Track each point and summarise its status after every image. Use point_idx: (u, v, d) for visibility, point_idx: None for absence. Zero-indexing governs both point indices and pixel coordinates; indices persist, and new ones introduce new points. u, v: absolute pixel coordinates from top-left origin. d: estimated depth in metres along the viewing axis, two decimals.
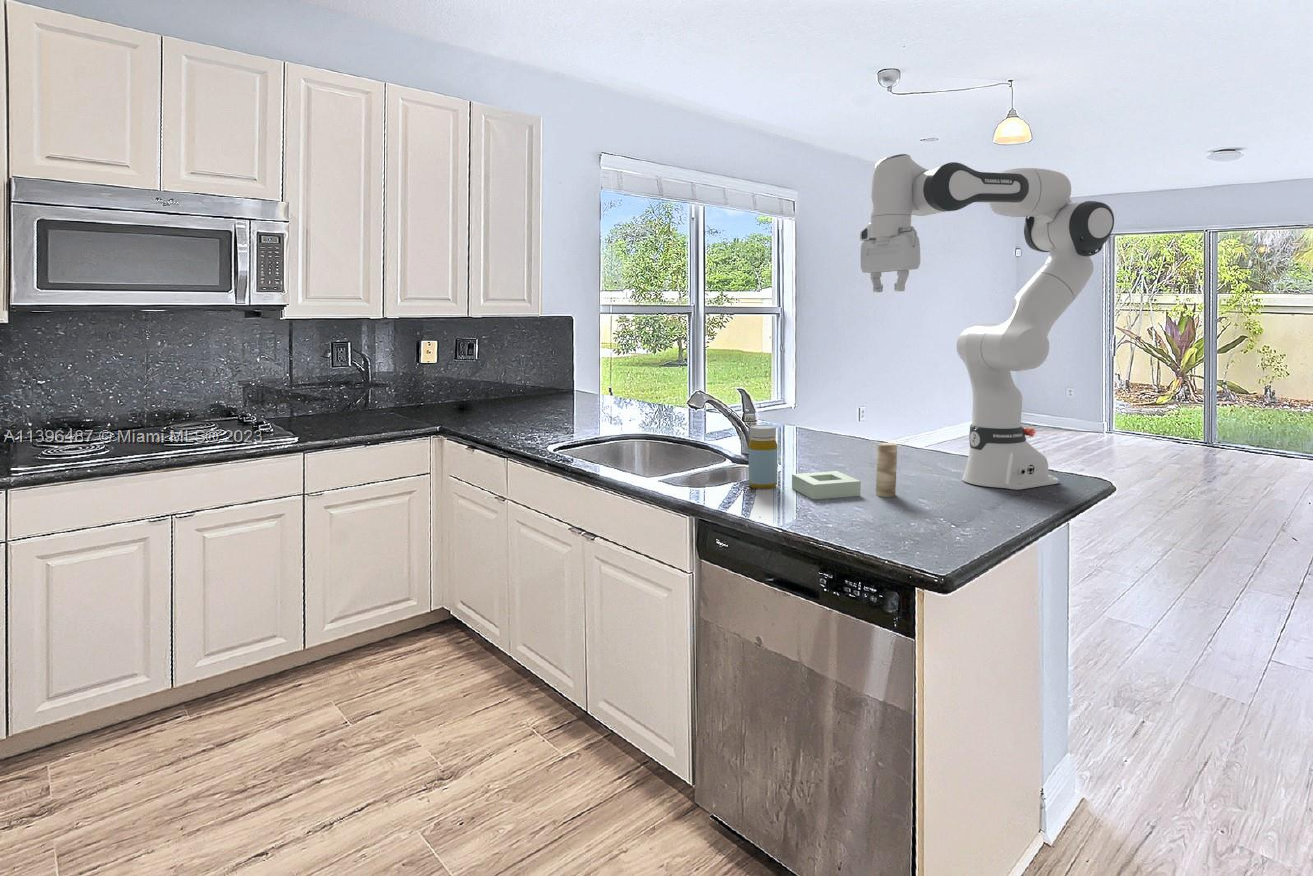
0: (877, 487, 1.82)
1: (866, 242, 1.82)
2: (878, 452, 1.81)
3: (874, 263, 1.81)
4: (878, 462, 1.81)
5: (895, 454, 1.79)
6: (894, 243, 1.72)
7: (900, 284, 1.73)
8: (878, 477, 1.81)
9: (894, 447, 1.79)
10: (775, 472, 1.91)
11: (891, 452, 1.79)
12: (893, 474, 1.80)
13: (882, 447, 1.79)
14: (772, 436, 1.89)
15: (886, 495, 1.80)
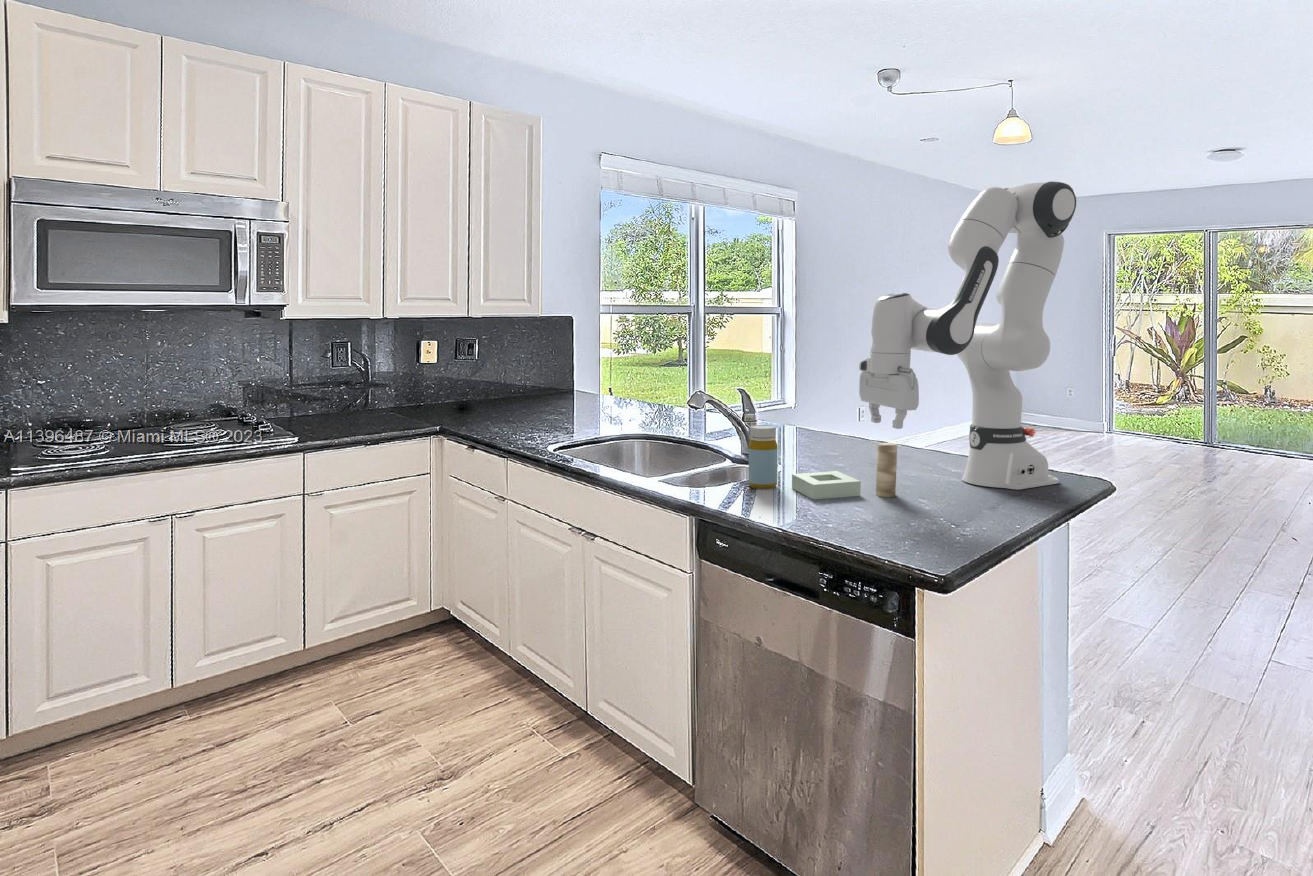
0: (877, 487, 1.82)
1: (865, 373, 1.83)
2: (878, 452, 1.81)
3: (873, 396, 1.82)
4: (878, 462, 1.81)
5: (895, 454, 1.79)
6: (893, 382, 1.73)
7: (898, 422, 1.74)
8: (878, 477, 1.81)
9: (894, 447, 1.79)
10: (775, 472, 1.91)
11: (891, 452, 1.79)
12: (893, 474, 1.80)
13: (882, 447, 1.79)
14: (772, 436, 1.89)
15: (886, 495, 1.80)
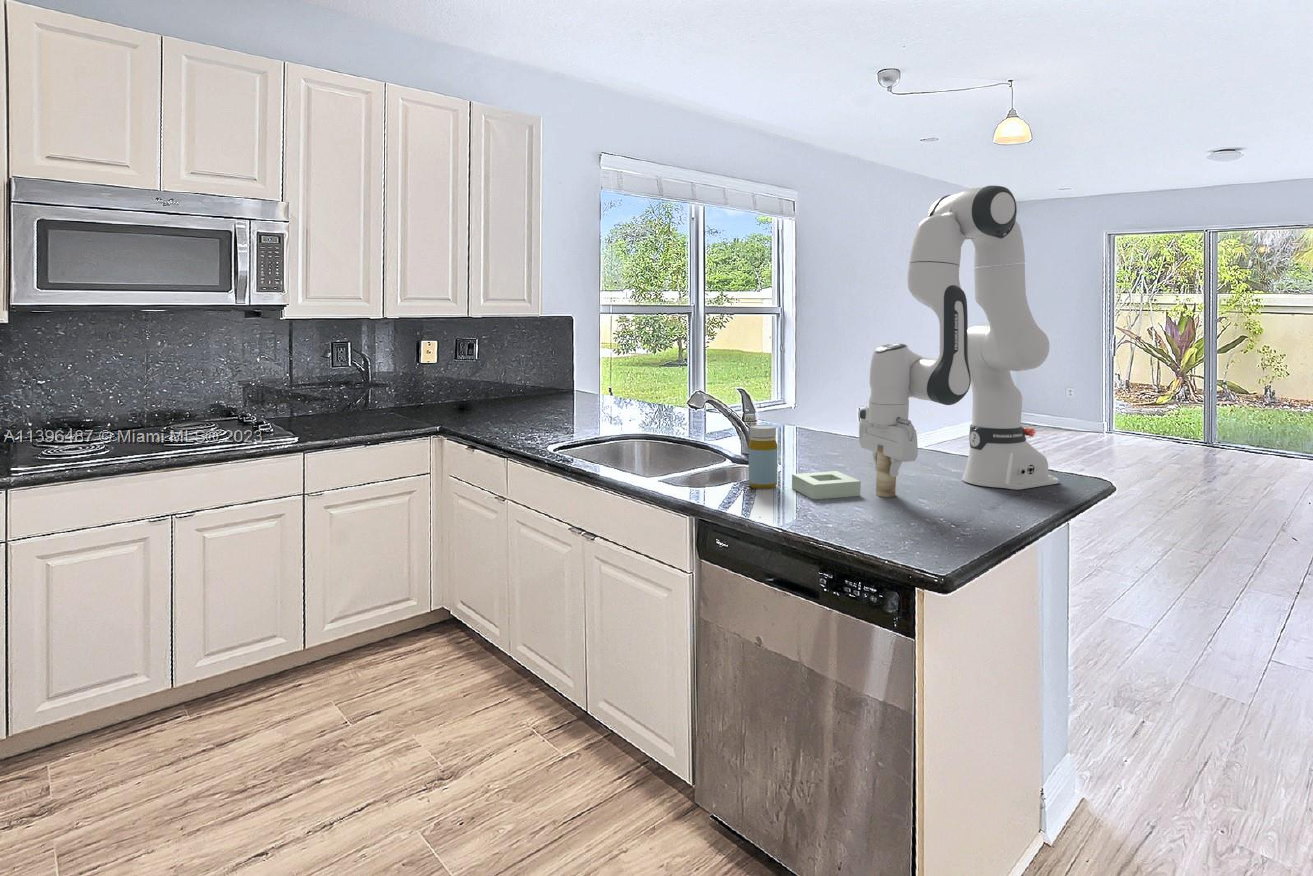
0: (877, 487, 1.82)
1: (864, 422, 1.85)
2: (878, 452, 1.81)
3: (872, 444, 1.84)
4: (878, 462, 1.81)
5: None
6: (892, 433, 1.75)
7: (893, 470, 1.78)
8: (878, 477, 1.81)
9: None
10: (775, 472, 1.91)
11: None
12: None
13: (882, 447, 1.79)
14: (772, 436, 1.89)
15: (886, 495, 1.80)
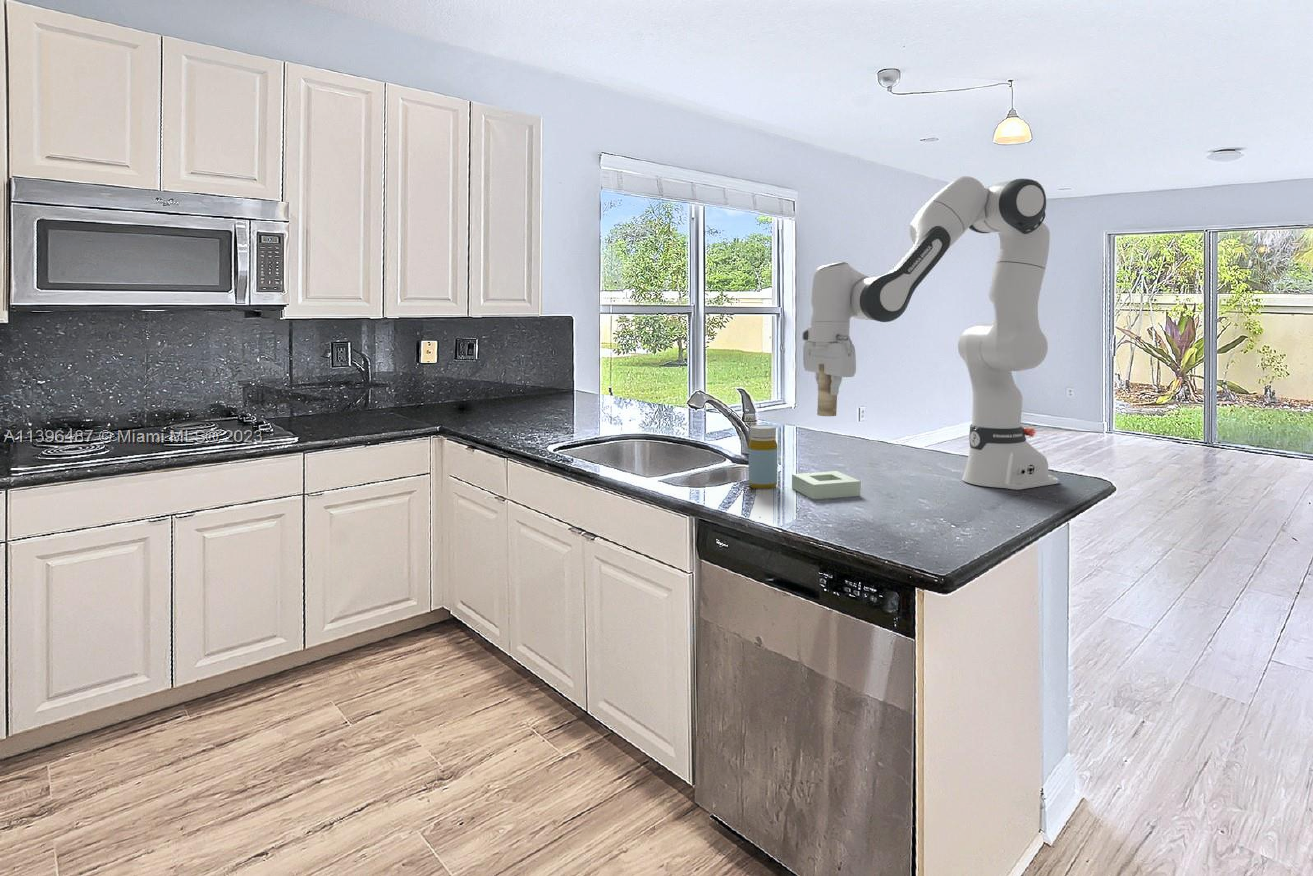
0: (818, 407, 1.82)
1: (807, 343, 1.85)
2: (819, 371, 1.81)
3: (815, 365, 1.84)
4: (819, 381, 1.81)
5: None
6: (832, 350, 1.76)
7: (834, 388, 1.79)
8: (819, 396, 1.82)
9: None
10: (775, 472, 1.91)
11: None
12: None
13: (823, 366, 1.80)
14: (772, 436, 1.89)
15: (826, 414, 1.81)
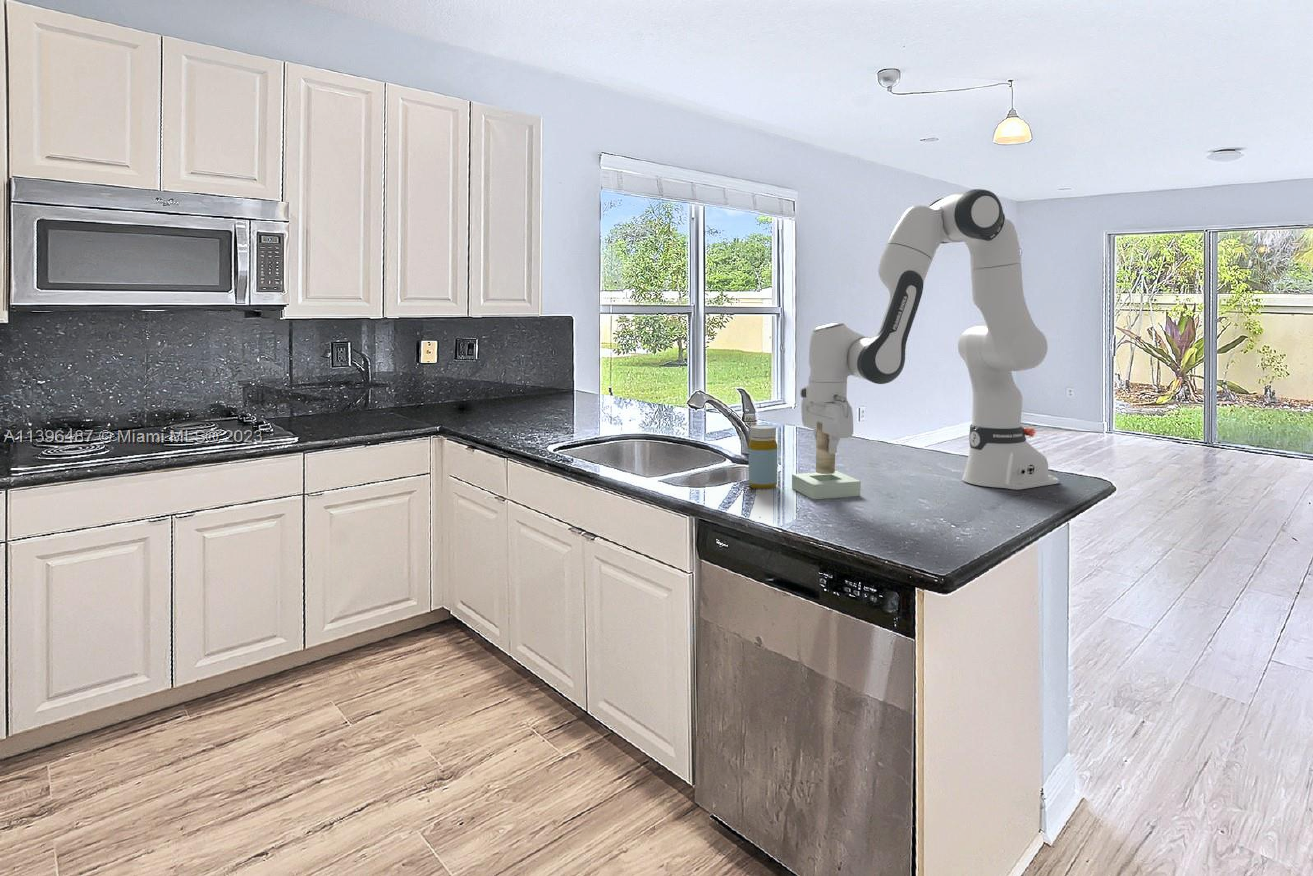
0: (817, 464, 1.85)
1: (805, 400, 1.88)
2: (817, 430, 1.84)
3: (813, 422, 1.87)
4: (817, 439, 1.84)
5: None
6: (829, 410, 1.78)
7: (832, 447, 1.81)
8: (817, 454, 1.84)
9: None
10: (775, 472, 1.91)
11: None
12: None
13: (821, 424, 1.82)
14: (772, 436, 1.89)
15: (825, 472, 1.84)
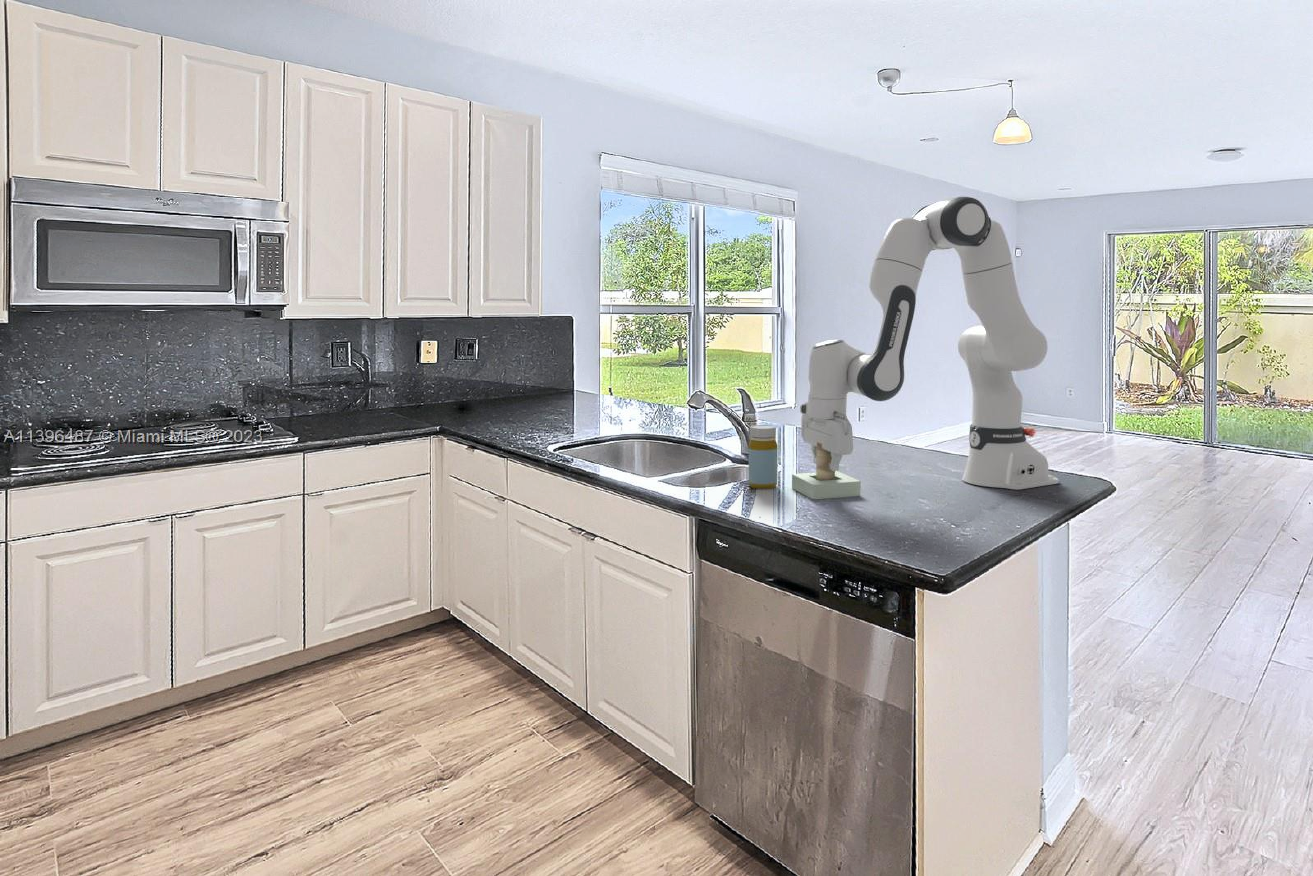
0: None
1: (805, 416, 1.88)
2: (817, 450, 1.84)
3: (813, 438, 1.87)
4: (817, 460, 1.85)
5: None
6: (829, 427, 1.79)
7: (834, 464, 1.80)
8: (817, 474, 1.85)
9: None
10: (775, 472, 1.91)
11: None
12: (831, 471, 1.84)
13: (820, 445, 1.83)
14: (772, 436, 1.89)
15: None
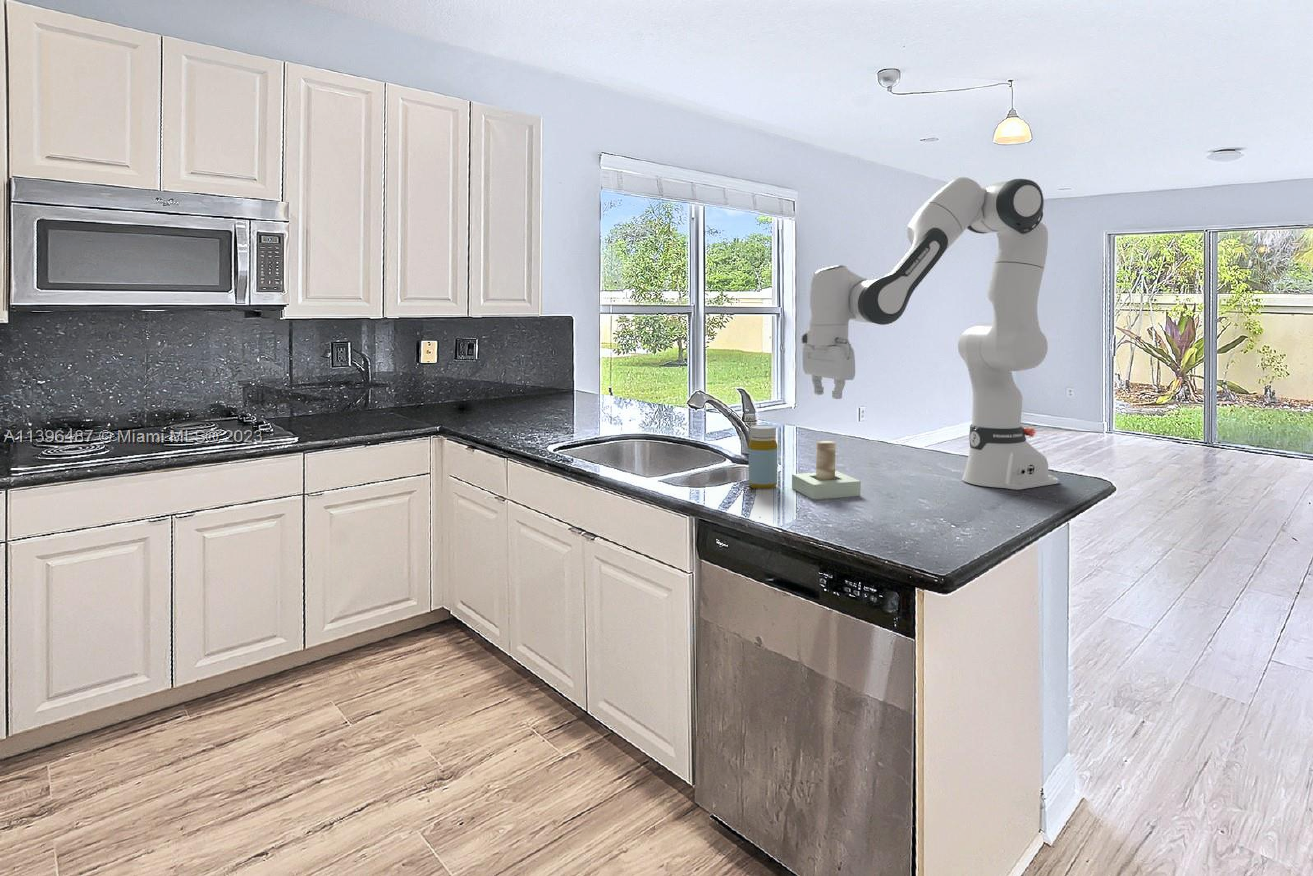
0: None
1: (807, 346, 1.86)
2: (817, 450, 1.84)
3: (814, 368, 1.85)
4: (817, 460, 1.85)
5: (833, 452, 1.83)
6: (831, 353, 1.76)
7: (837, 392, 1.77)
8: (817, 474, 1.85)
9: (832, 445, 1.83)
10: (775, 472, 1.91)
11: (829, 450, 1.83)
12: (831, 471, 1.84)
13: (820, 445, 1.83)
14: (772, 436, 1.89)
15: None
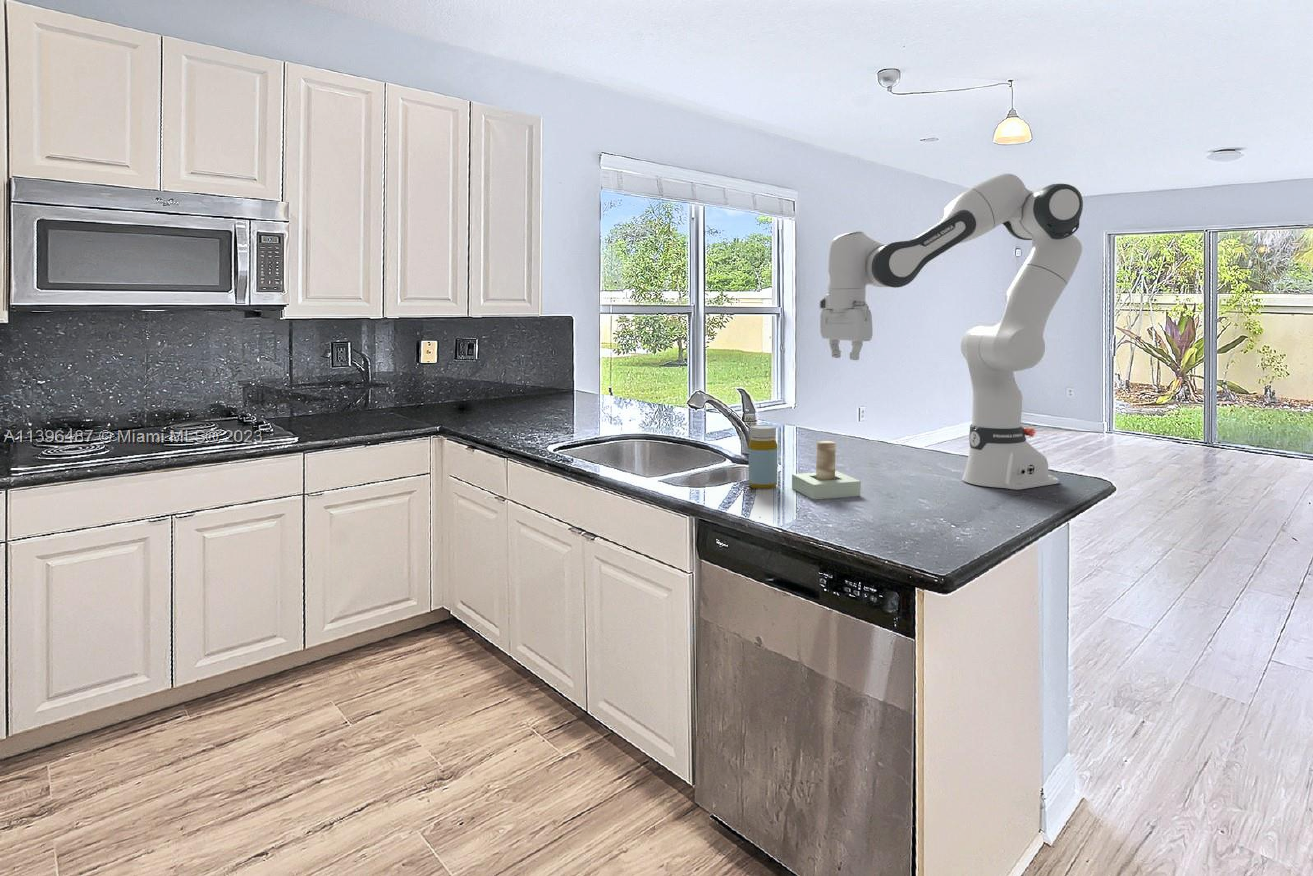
0: None
1: (825, 311, 1.93)
2: (817, 450, 1.84)
3: (832, 332, 1.92)
4: (817, 460, 1.85)
5: (833, 452, 1.83)
6: (849, 316, 1.83)
7: (855, 354, 1.84)
8: (817, 474, 1.85)
9: (832, 445, 1.83)
10: (775, 472, 1.91)
11: (829, 450, 1.83)
12: (831, 471, 1.84)
13: (821, 445, 1.83)
14: (772, 436, 1.89)
15: None
